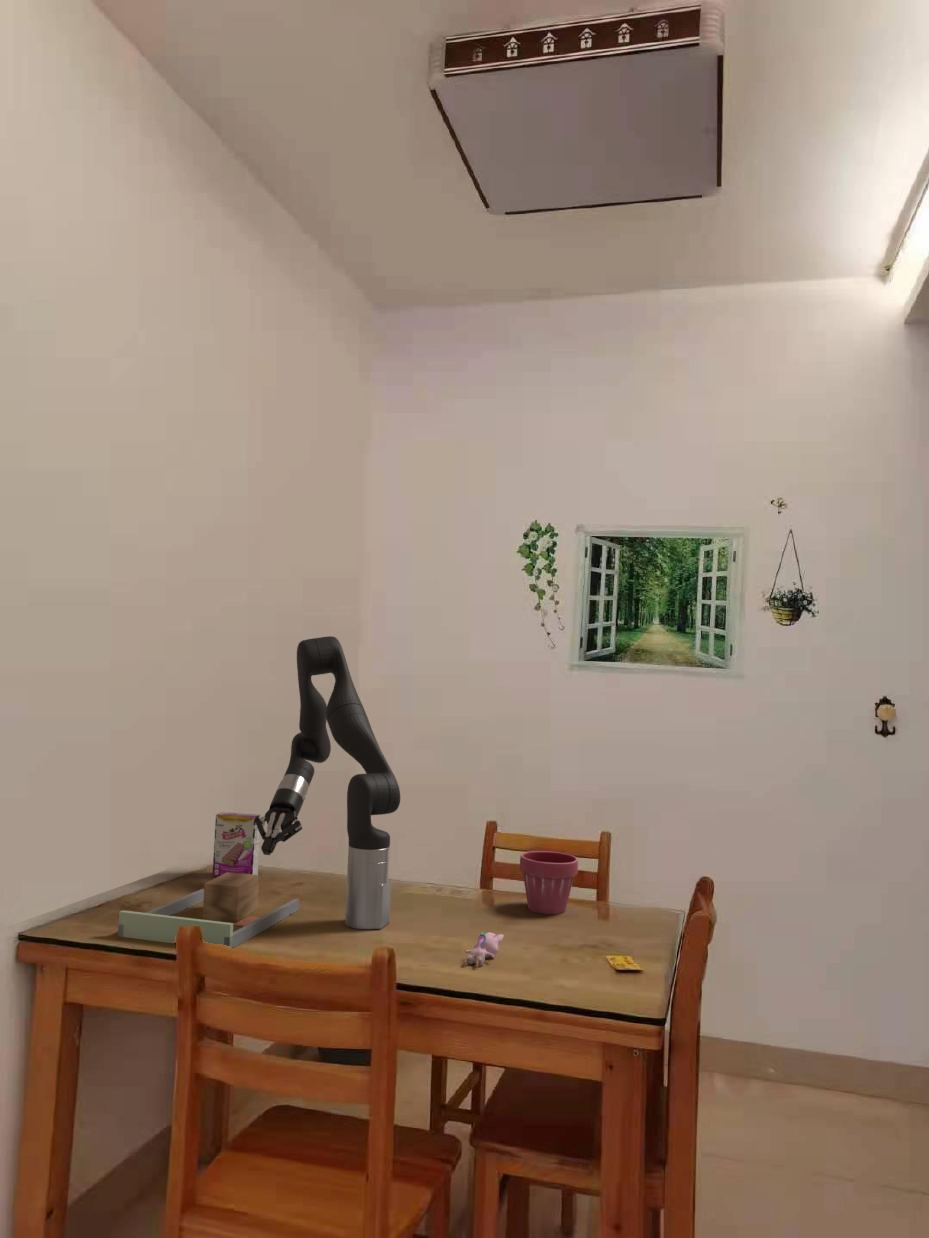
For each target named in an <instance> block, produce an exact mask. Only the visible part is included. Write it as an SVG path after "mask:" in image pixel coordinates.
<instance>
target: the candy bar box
mask: <svg viewBox="0 0 929 1238" xmlns="http://www.w3.org/2000/svg"><path fill="white" fill-rule="evenodd" d="M256 817H259V818H261V817H262V815H261V814H255V813H243V812H242V813H240V812H225V811H222V812H218V813H217V814H215V825H214V829H215V830H214V843H213V860H212V877H215V878H217V877H219V876H221V875H223V874H225V873H227V872H228V873H241V874H253V875H259V859H260V841H261V839H260V838H261V835H260V832H259V830H258V827H257V825H256V822H255V818H256Z"/></svg>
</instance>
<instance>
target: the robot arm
mask: <svg viewBox="0 0 929 1238" xmlns="http://www.w3.org/2000/svg"><path fill="white" fill-rule="evenodd" d="M296 669H297V681H298V691H299V692H298V693H299V700H300V703H299V704H300V705H299V707H300V709H299V725H298V726H299V727H298V728H299V731H300V732H298V733H297V734H296V735H295V736H294V737H293V738H292V741H291V745H290V758H289V763H288V766H287V768H286V770H285V772H284V775H283V778H282V779H281V781H280V782H279V783H278V786H277V789H276V791H275V793H274V796H273V798H272V800H271V803H270V805H269V809H268V810H267V812H265V814H264V816H261V818H259V817H256V818H255V822H256V825H257V827H258V830H259V832H260V838H262V840H263V842H262V843H261V844H262V845H261V847H260V849H261V851H262V853H263V855H264V856H271V854H272V853H274V851H275V849H276V847H277V844H278V843H279V842H282V843H284V842H286V841H288V840H289V839H291V838H292V837H293V836H295V835H297V834H298V833H299V832H300V831H302V829H303V826H302V825H303V824H301V821H300V820H298V816H299V814H300V812H301V810H302V806H303V804H304V802H305V800H306V797H307V794H308V790H309V787H310V785H311V782H312V781H313V777H314V775H315V768H314V766H313V764H312V763H317V764H322V763H324V762H326V761H327V760H328V759H329V758H330V754H331V749H332V746H331V739H330V736H329V733H328V730H327V725H328V728H329V730H330V733H331V735H332V738H333V739H334V741H335V742H336V744H337V745H338V746H339V747H340V748H341V749H342V750H343V751H344V752H346V753H347V754H348V755H349V756H350V757H351V758H353V759H354V760H355V761H356V762H357V763H359V765H360V766H361V767H362V768H363V770H364V772H365V773H358V774H355V775H353V776H352V777H351V779H350V780H349V782H348V785H347V790H346V791H347V792H346V811H347V812H346V831H347V836H348V847H347V867H346V868H347V873H346V892H345V895H346V896H345V913H344V916H345V919H344V923H345V925H346V927H349V928H352V929H357V930H358V929H359V930H374V929H376V930H382V929H383V928H384V927H385V926H387V925H388V924H389V923H390V922H391V920H390V919H391V914H390V913H391V897H392V880H391V879H390V878H389V875H390V874H389V873H390V853H391V851H390V849H391V835H390V833H388V832H387V831H385V830H382V829H379V828H376V827H375V826H374V825H373V823H372V816H380V815H387V814H388V815H390V814H392V813H395V812H396V811H397V810H398V809H399V807H400V804H401V792H400V791H401V790H400V786H399V783H398V780H397V779H396V776H395V774H394V772H393V770H392V768H391V766H390V765H389V762H388V761H387V760H386V757H385V755H384V754H383V752H382V749H381V747H380V746H379V743H378V741H377V738H376V736H375V734H374V731H373V729H372V726H371V723H370V721H369V718H368V715H367V713H366V711H365V708H364V705H363V703H362V701H361V698H360V696H359V694H358V692H357V689H356V687H355V684H354V682H353V679H352V676H351V672H350V668H349V665H348V662H347V660H346V656H345V653H344V650H343V646H342V644H341V642H340V641H339V639H338V638H337V637H335V636H330V635H329V636H321V637H314V638H308V639H303V640H301V641H300V642H299V643H298V644H297V647H296ZM326 674H327V675H328V674H333V676H334V677H333V678H334V686H333V689H332V692H331V695H330V697H329V699H328V702H327V701H326V699H324V697H323V695H322V694H321V693H320V692H319V691H318V689H317V688H316V686H315V685H314V684H313V681H312V676H320V675H326ZM326 702H327V703H326ZM310 762H312V763H310ZM266 824H267V830H265V828H264V827H265V825H266Z"/></svg>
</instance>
